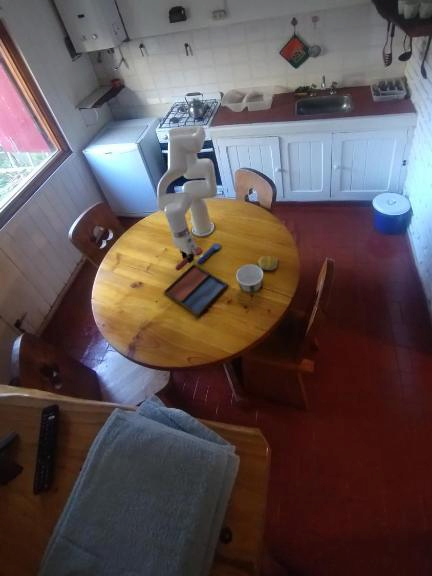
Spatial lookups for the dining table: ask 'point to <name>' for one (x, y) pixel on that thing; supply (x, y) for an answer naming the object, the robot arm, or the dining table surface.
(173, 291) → the sorting tray
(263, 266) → the bread roll
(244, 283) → the food container
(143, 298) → the dining table surface
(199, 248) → the red spoon
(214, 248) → the blue spoon
